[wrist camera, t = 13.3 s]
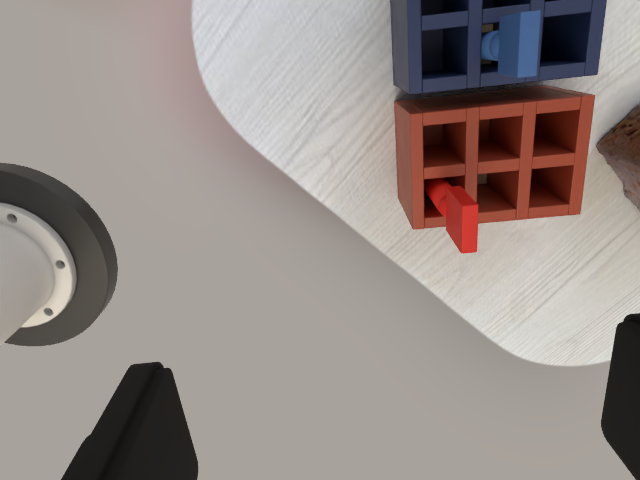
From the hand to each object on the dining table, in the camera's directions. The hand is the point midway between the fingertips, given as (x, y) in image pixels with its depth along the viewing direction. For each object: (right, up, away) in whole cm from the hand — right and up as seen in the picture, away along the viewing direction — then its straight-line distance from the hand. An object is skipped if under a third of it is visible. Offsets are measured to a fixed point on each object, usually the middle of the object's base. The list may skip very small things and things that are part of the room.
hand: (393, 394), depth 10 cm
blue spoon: (+11, +19, +27) cm, 34 cm away
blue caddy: (+10, +21, +27) cm, 36 cm away
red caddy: (+11, +12, +31) cm, 35 cm away
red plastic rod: (+8, +9, +31) cm, 33 cm away
